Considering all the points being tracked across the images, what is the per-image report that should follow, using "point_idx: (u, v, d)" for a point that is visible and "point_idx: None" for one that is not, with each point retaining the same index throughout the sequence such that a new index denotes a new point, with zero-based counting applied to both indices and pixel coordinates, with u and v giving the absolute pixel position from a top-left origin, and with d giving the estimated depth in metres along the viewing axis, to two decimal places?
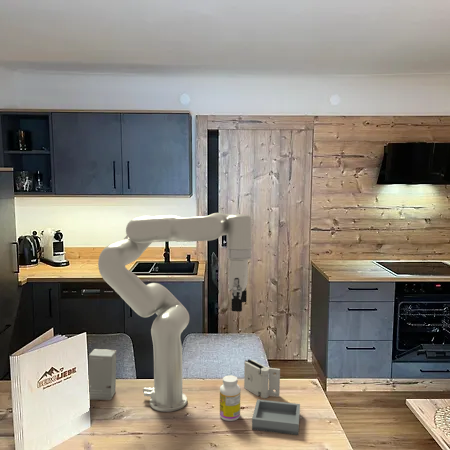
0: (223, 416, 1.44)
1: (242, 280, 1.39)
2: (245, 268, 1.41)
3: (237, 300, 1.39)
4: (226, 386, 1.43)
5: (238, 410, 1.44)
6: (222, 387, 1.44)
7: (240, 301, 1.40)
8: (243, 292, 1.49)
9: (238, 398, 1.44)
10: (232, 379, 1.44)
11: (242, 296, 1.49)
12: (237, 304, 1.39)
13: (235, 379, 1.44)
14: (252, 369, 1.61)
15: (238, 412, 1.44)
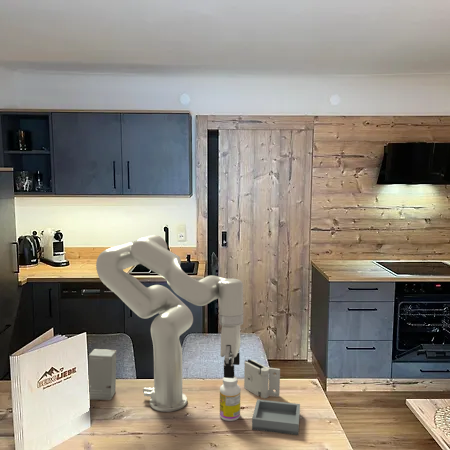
0: (223, 416, 1.44)
1: (234, 347, 1.38)
2: (237, 334, 1.40)
3: (229, 367, 1.38)
4: (226, 386, 1.43)
5: (238, 410, 1.44)
6: (222, 387, 1.44)
7: (232, 368, 1.39)
8: None
9: (238, 398, 1.44)
10: (232, 379, 1.44)
11: (235, 359, 1.48)
12: (229, 371, 1.38)
13: (236, 379, 1.44)
14: (252, 369, 1.61)
15: (238, 412, 1.44)
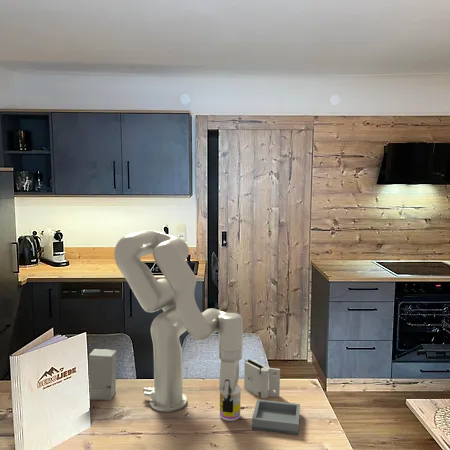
0: (223, 416, 1.44)
1: (233, 382, 1.40)
2: (236, 369, 1.41)
3: (228, 402, 1.41)
4: None
5: (238, 410, 1.44)
6: None
7: (231, 402, 1.41)
8: None
9: (238, 398, 1.44)
10: None
11: None
12: (228, 406, 1.41)
13: None
14: (252, 369, 1.61)
15: (238, 412, 1.44)
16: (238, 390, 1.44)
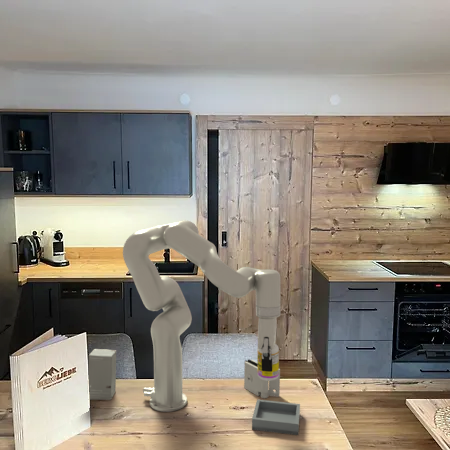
0: (262, 376, 1.40)
1: (272, 339, 1.36)
2: (274, 326, 1.37)
3: (267, 360, 1.37)
4: None
5: (277, 369, 1.40)
6: None
7: (270, 361, 1.37)
8: None
9: (277, 357, 1.39)
10: None
11: None
12: (267, 364, 1.37)
13: None
14: (252, 369, 1.61)
15: (277, 371, 1.40)
16: (277, 349, 1.39)
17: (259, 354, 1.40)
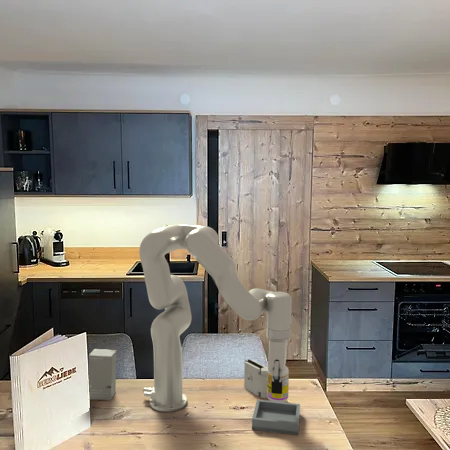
0: (271, 398, 1.40)
1: (282, 362, 1.36)
2: (285, 348, 1.37)
3: (277, 383, 1.37)
4: None
5: (287, 391, 1.40)
6: None
7: (280, 384, 1.38)
8: None
9: (287, 379, 1.40)
10: None
11: None
12: (277, 387, 1.37)
13: None
14: (252, 369, 1.61)
15: (287, 393, 1.40)
16: (287, 371, 1.40)
17: (269, 376, 1.40)
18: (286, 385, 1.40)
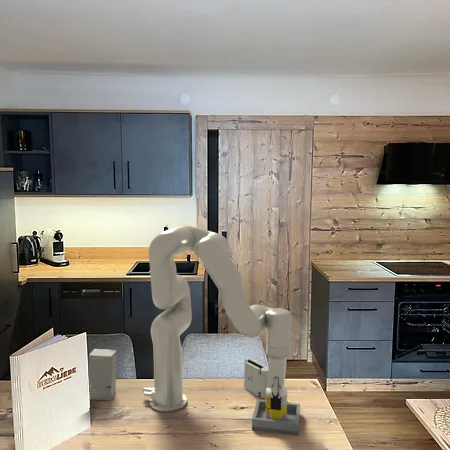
0: None
1: (282, 379, 1.36)
2: (284, 365, 1.38)
3: (276, 399, 1.36)
4: None
5: (285, 412, 1.41)
6: (269, 389, 1.41)
7: (279, 400, 1.37)
8: None
9: (285, 400, 1.41)
10: None
11: None
12: (276, 403, 1.37)
13: None
14: (252, 369, 1.61)
15: (285, 414, 1.41)
16: (285, 392, 1.40)
17: (268, 397, 1.41)
18: (284, 406, 1.40)
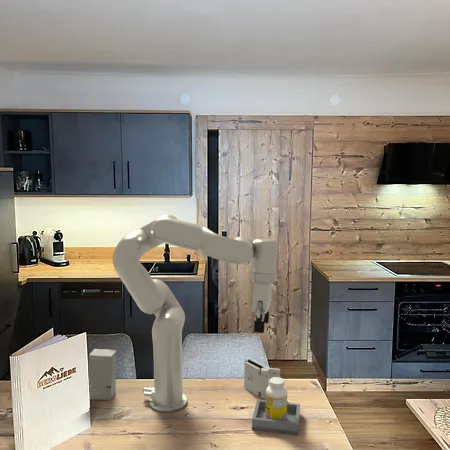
0: None
1: (265, 303, 1.44)
2: (269, 291, 1.46)
3: (260, 322, 1.44)
4: (273, 388, 1.40)
5: (285, 413, 1.41)
6: (269, 389, 1.41)
7: (263, 323, 1.45)
8: (265, 313, 1.54)
9: (285, 400, 1.40)
10: (279, 381, 1.41)
11: (264, 317, 1.54)
12: (260, 326, 1.44)
13: (283, 381, 1.41)
14: (252, 369, 1.61)
15: (285, 414, 1.41)
16: (285, 392, 1.40)
17: (268, 397, 1.41)
18: (284, 406, 1.40)
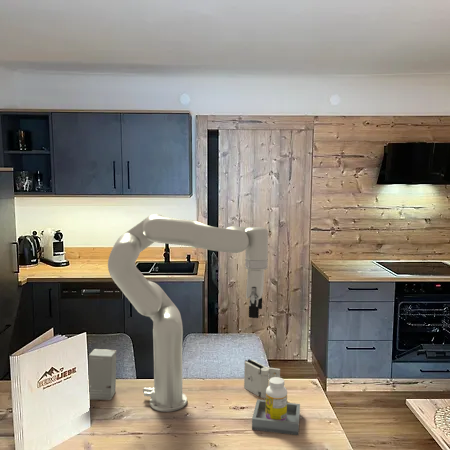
0: None
1: (259, 289, 1.49)
2: (262, 277, 1.51)
3: (254, 307, 1.49)
4: (273, 388, 1.40)
5: (285, 413, 1.41)
6: (269, 389, 1.41)
7: (257, 308, 1.49)
8: (259, 299, 1.59)
9: (285, 400, 1.40)
10: (279, 381, 1.41)
11: (258, 303, 1.59)
12: (254, 311, 1.49)
13: (283, 381, 1.41)
14: (252, 368, 1.61)
15: (285, 414, 1.41)
16: (285, 392, 1.40)
17: (268, 397, 1.41)
18: (284, 406, 1.40)
